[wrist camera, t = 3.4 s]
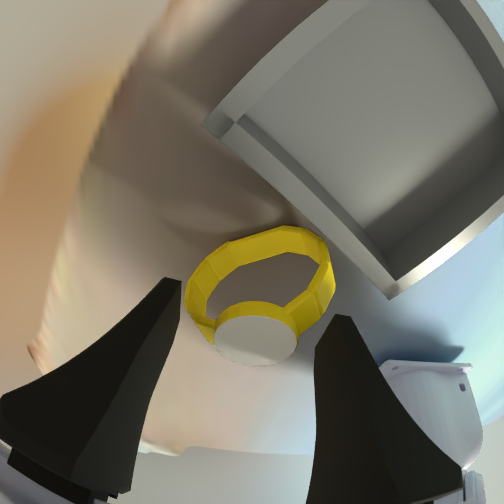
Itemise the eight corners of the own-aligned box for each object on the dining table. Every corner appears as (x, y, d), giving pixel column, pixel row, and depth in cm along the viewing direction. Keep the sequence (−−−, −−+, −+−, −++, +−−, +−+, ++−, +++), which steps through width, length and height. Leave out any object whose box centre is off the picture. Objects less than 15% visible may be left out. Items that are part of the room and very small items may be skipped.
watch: (216, 277, 16) (191, 374, 11) (193, 235, 14) (152, 330, 9) (329, 251, 14) (347, 353, 9) (315, 201, 13) (335, 298, 8)
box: (398, -42, 5) (422, -60, 3) (521, 145, 9) (551, 163, 7) (216, 113, 11) (200, 125, 9) (377, 266, 14) (389, 300, 12)
